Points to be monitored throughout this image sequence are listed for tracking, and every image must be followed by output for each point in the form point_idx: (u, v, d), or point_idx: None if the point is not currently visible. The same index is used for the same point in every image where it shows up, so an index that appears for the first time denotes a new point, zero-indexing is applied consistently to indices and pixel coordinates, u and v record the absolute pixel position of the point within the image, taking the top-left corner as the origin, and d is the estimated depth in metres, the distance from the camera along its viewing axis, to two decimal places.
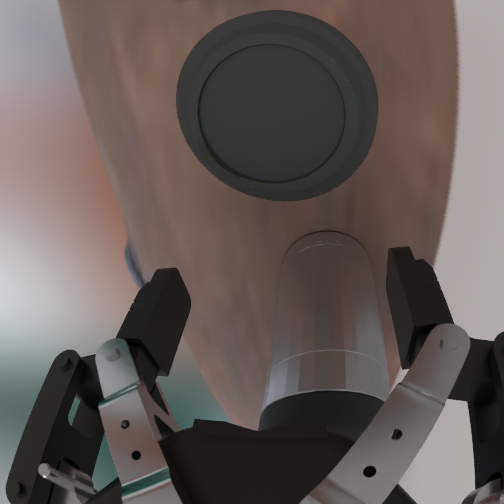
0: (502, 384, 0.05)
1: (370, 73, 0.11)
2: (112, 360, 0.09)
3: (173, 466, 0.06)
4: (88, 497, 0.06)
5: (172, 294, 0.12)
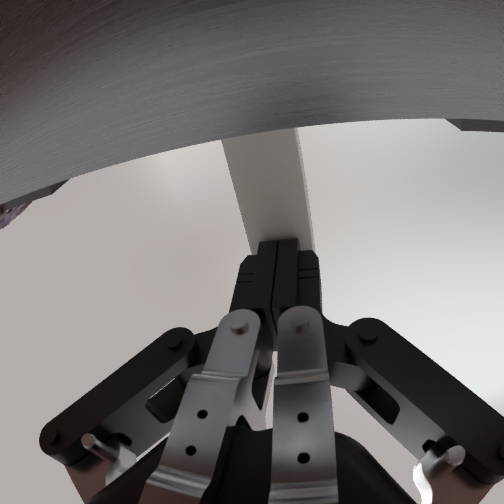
0: (377, 373, 0.07)
1: None
2: (243, 332, 0.09)
3: (218, 479, 0.05)
4: None
5: None
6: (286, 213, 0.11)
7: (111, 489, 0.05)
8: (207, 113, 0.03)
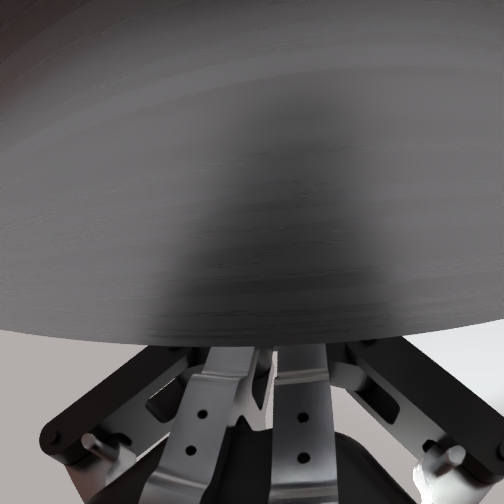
0: (377, 372, 0.07)
1: None
2: None
3: (218, 479, 0.05)
4: None
5: None
6: None
7: (111, 489, 0.05)
8: (52, 287, 0.01)
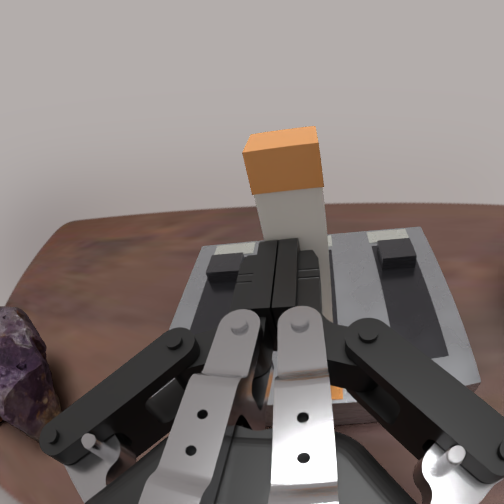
0: (377, 372, 0.07)
1: None
2: (243, 332, 0.09)
3: (218, 479, 0.05)
4: None
5: None
6: None
7: (111, 489, 0.05)
8: None
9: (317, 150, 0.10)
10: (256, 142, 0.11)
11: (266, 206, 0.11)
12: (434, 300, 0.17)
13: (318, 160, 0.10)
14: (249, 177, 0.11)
